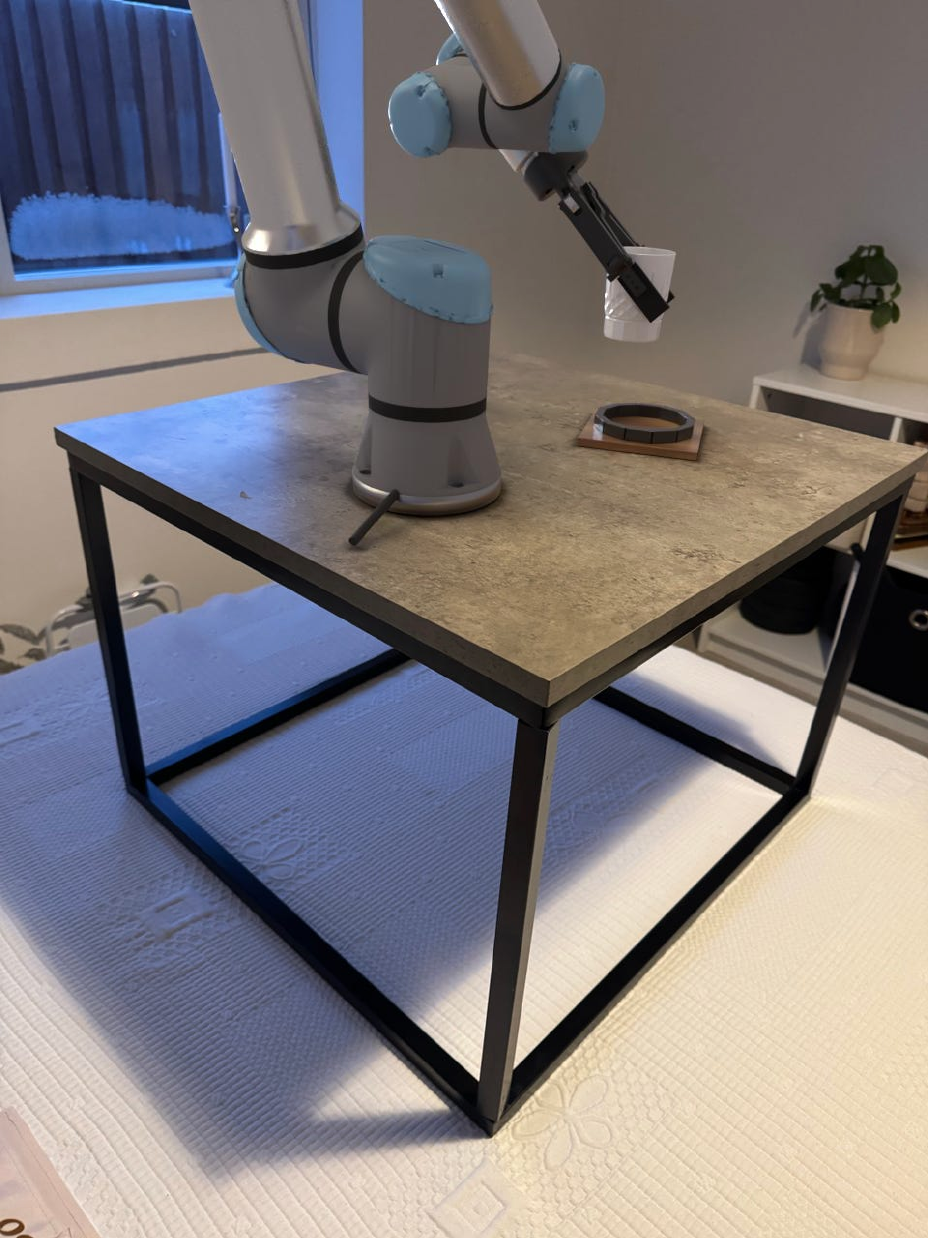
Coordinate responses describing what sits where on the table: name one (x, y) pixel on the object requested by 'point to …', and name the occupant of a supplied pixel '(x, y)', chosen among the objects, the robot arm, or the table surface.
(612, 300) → the white cup
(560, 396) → the table surface
